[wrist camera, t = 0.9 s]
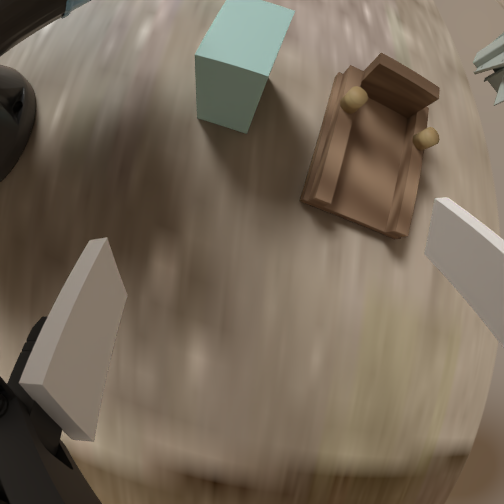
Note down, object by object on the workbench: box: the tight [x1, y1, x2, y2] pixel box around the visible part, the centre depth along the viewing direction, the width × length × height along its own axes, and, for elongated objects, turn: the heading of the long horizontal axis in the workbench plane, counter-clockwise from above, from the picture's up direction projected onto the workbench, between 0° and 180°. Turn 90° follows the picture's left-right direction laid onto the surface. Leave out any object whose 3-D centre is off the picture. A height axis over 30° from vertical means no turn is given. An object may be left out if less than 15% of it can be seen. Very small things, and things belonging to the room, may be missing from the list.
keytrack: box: [300, 53, 439, 239], centre depth 27 cm, size 15×11×7 cm
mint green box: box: [195, 0, 295, 134], centre depth 23 cm, size 7×5×11 cm
